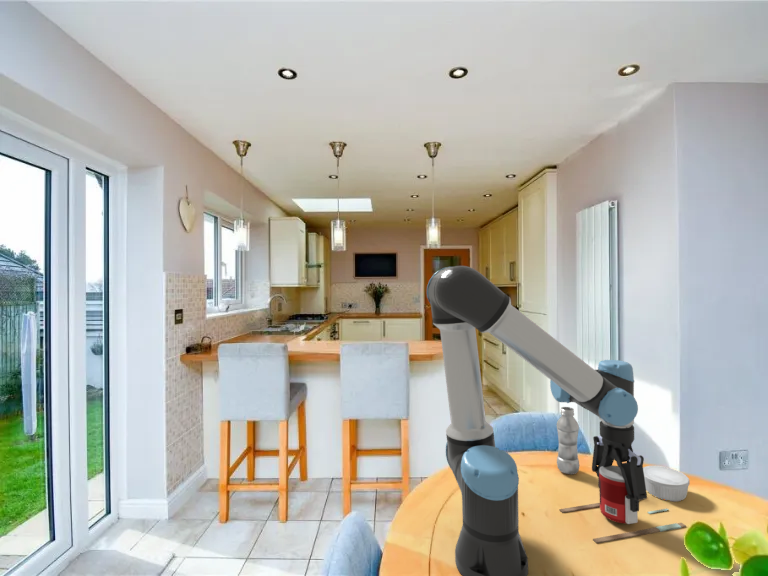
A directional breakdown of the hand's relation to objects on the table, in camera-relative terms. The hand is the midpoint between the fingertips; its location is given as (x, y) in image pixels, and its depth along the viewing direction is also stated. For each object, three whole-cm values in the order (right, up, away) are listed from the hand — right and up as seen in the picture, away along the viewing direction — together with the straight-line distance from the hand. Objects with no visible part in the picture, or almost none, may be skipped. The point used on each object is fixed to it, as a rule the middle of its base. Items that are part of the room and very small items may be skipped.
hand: (617, 512), depth 100 cm
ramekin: (+20, -1, +11) cm, 23 cm away
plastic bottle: (-1, -1, +24) cm, 24 cm away
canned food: (0, -1, 0) cm, 1 cm away
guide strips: (+1, -2, 0) cm, 2 cm away
